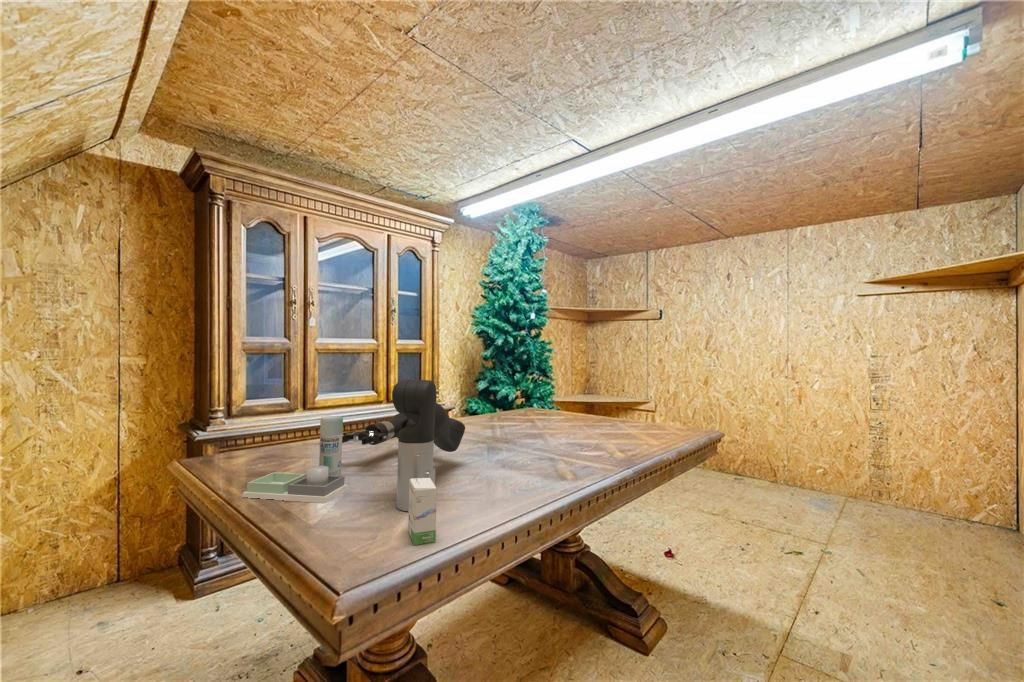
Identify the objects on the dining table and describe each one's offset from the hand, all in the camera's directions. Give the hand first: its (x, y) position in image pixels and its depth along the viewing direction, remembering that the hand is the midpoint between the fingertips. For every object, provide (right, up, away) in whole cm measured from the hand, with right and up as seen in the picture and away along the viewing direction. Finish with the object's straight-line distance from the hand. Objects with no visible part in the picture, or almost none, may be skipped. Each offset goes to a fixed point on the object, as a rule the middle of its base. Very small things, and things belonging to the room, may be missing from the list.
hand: (351, 440), depth 144 cm
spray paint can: (-3, -11, -10) cm, 15 cm away
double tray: (-7, -10, -22) cm, 25 cm away
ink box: (+34, -10, -49) cm, 60 cm away
